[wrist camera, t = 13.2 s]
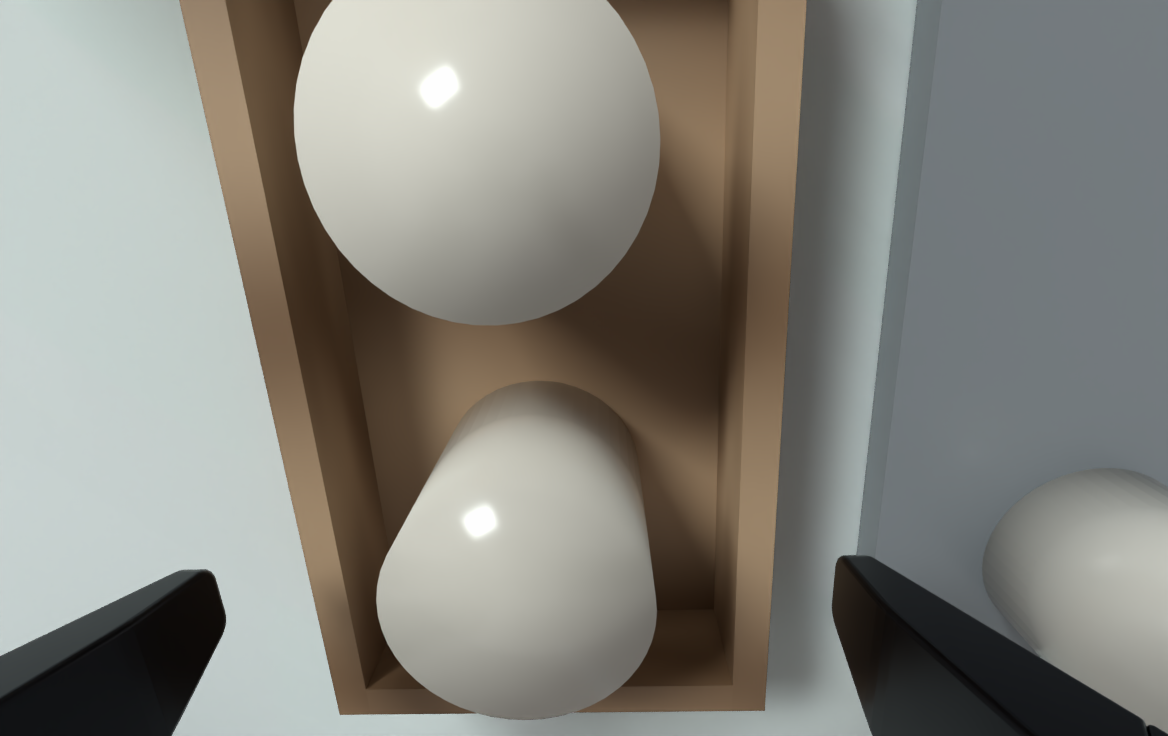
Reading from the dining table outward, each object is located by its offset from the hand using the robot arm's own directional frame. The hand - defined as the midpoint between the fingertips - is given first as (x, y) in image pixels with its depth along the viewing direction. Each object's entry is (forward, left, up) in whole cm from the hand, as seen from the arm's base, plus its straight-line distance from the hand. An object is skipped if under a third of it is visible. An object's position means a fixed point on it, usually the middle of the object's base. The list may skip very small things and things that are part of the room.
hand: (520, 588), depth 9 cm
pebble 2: (0, 0, -4) cm, 4 cm away
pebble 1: (+6, 0, -3) cm, 7 cm away
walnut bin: (+3, 0, -4) cm, 5 cm away
